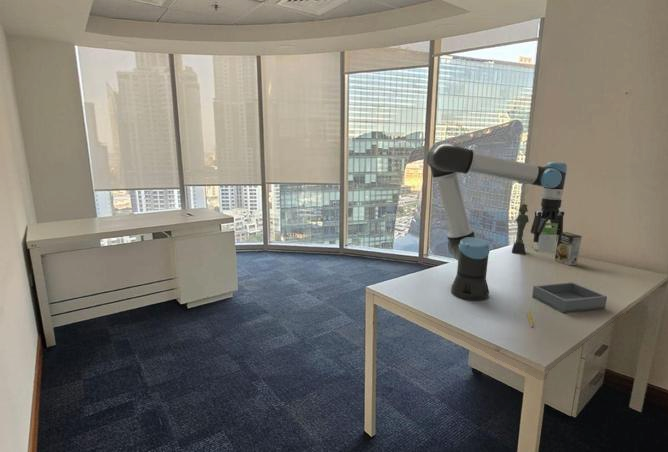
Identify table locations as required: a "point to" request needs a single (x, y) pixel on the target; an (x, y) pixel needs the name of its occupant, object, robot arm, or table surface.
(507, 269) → the table surface
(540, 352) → the table surface
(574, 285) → the box
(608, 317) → the table surface
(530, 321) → the pencil
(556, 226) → the ink box
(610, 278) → the table surface
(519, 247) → the statue
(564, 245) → the coffee box
